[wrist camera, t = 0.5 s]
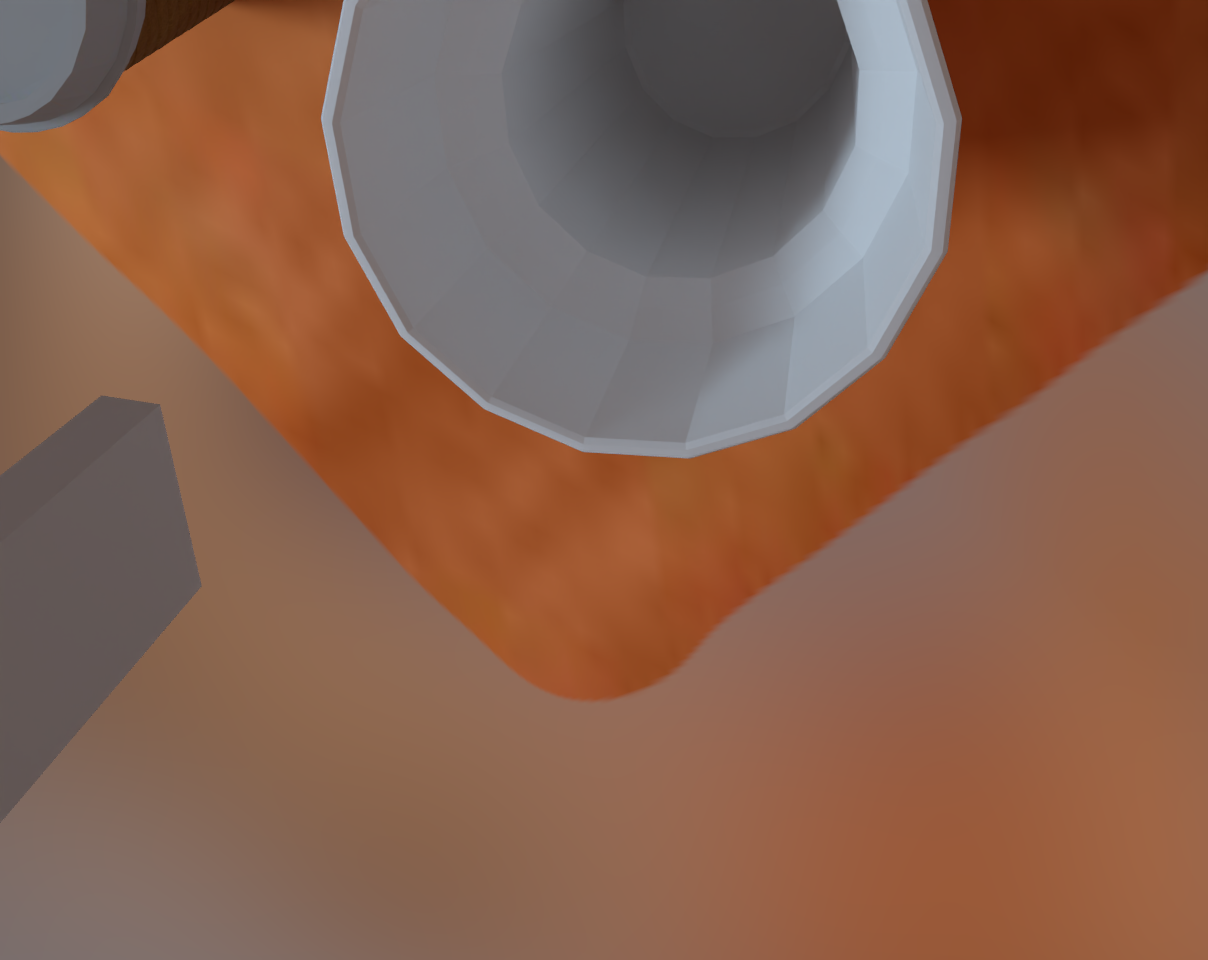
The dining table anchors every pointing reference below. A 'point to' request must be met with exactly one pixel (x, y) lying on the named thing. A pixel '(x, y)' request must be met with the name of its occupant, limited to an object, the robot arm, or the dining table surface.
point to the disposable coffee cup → (79, 52)
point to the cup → (645, 202)
